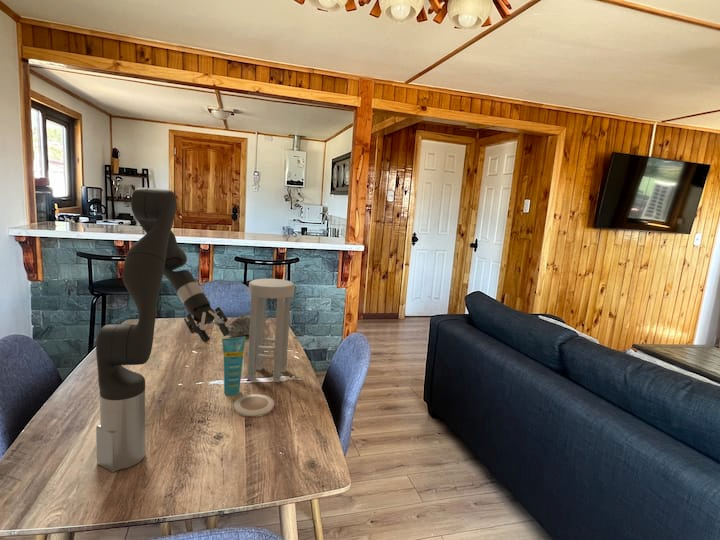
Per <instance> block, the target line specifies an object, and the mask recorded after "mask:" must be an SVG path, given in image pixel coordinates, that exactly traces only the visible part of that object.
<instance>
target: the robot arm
mask: <svg viewBox="0 0 720 540" xmlns="http://www.w3.org/2000/svg"><path fill="white" fill-rule="evenodd" d="M177 203H178V201H177V197H176V194H175V192H174V191H173V190H170V189H166V188H153V187H137V188H135V189H134V190H133V192H132V194H131V199H130V206H131V211H132V214H133V215H134V218H135V219H136V221H137V223H138V224H139V226H141V228H142V229H143V230H144V231H145V233H146V234H144V235H143V236H141V238H139V239H138V240H137V241H136V242H134V243H133V245H132V246H131V247H130V248H129V249H128V251H127V253H126V256H125V259H124V263H123V267H122V271H121V279H122V282H123V285H124V287H125V289H126V290H127V292H128V294H129V295H130V297H131V298H132V300H133V302H134V304H135V308H136V309H137V312H138V322H137V324H119V323H118V324H106V325H103V326H102V327H101V328H100V329H99V331H98V334H97V337H96V344H95V350H96V352H95V353H96V355H95V356H96V363H97V374H98V376H97V377H98V378H97V381H98V386H99V415H100V417H99V419H100V421H99V422H100V423H99V424H98V425H96V429H95V431H96V464H97V465H99V466H101V467H102V468H105V469H106V470H108V471H110V472H111V473H115V472H116V471H119V470H124V469H128V468H131V467H133V466H136V465H137V464H139V463H140V462H142V461H143V459H144V457H146V379H145V377H144V376H143V375H142V374H140V373H139V372H135V371H133V370H130V369H128V368H126V367H124V366H139V365H140V366H141V365H145V364H146V363H147V362H148V361H149V359H150V357H151V354H152V350H153V344H154V343H153V342H154V334H155V324H156V315H157V307H158V300H159V296H160V291H161V286H162V282H163V277H165V278H166V279H167V280H168V281H169V282H170V284H171V285H172V287H173V288H174V289H175V292H176V293H177V295H178V298H179V300H180V301H181V303H182V305H183V307H184V309H186V312H187V313H188V314H187V315H186V316H185V317H184V318H183V321H184V322H185V324H186V326H187V328H188V329H189V332H190V334H194V333H195V334H197V335H198V336H199V337H200V339H201V341H202V342H204V343H207V342H209V341H210V336H209V335H208V334H207V333H208V332H206V329H204V326H206V325H210V324H212V325H215V326H217V327H219V330H220V332H221V334H222V335H223V337H227V335H228V334H229V330H228V329H227V325H226V323H227V322H228V321H229V319H228V318H227V316H226V315H225V313H224V311H223V310H222V309H221V307H220V306H218V307H216V308H214V309H213V308H212V307H211V302H210V301H209V299H208V297H207V295H206V294H205V293H204V291H203V289H202V288H201V286H200V285H199V283H197V281H196V278H194V276H193V274H192V273H191V272H190V270H188V269H182V270H177V271H175V270H176V269H178V268H179V269H180V268H182V267H183V266H185V265H186V264H187V261H188V258H187V254H186V253H185V251H184V250H183V249H182V248H181V247H180V246H179V245H178V242H177V239H176V236H175V233H174V232H173V231H172V227H173V224H174V221H175V216H176V214H177V207H178V206H177Z"/></svg>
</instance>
